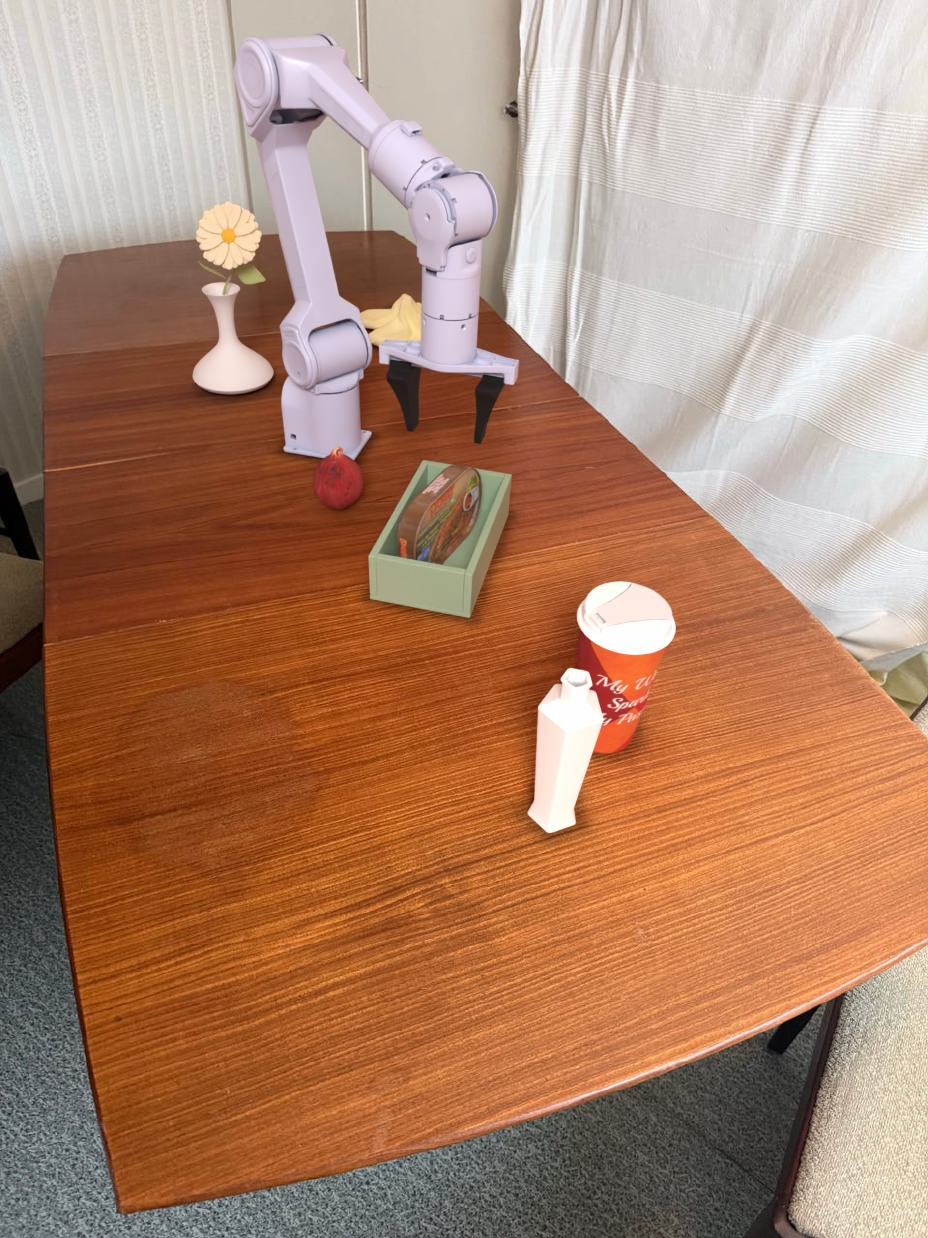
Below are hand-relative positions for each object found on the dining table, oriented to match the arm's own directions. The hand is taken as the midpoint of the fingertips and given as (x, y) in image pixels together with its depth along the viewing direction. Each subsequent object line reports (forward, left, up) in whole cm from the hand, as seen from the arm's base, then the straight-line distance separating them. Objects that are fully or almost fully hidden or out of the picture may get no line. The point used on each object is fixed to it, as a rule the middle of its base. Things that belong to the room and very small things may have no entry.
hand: (445, 433), depth 91 cm
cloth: (-20, +52, -11) cm, 56 cm away
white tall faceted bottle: (+19, -39, -11) cm, 45 cm away
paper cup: (+22, -29, -11) cm, 38 cm away
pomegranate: (-12, -3, -11) cm, 16 cm away
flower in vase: (-37, +23, -11) cm, 45 cm away
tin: (+2, -8, -10) cm, 13 cm away
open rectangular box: (+2, -8, -10) cm, 13 cm away
